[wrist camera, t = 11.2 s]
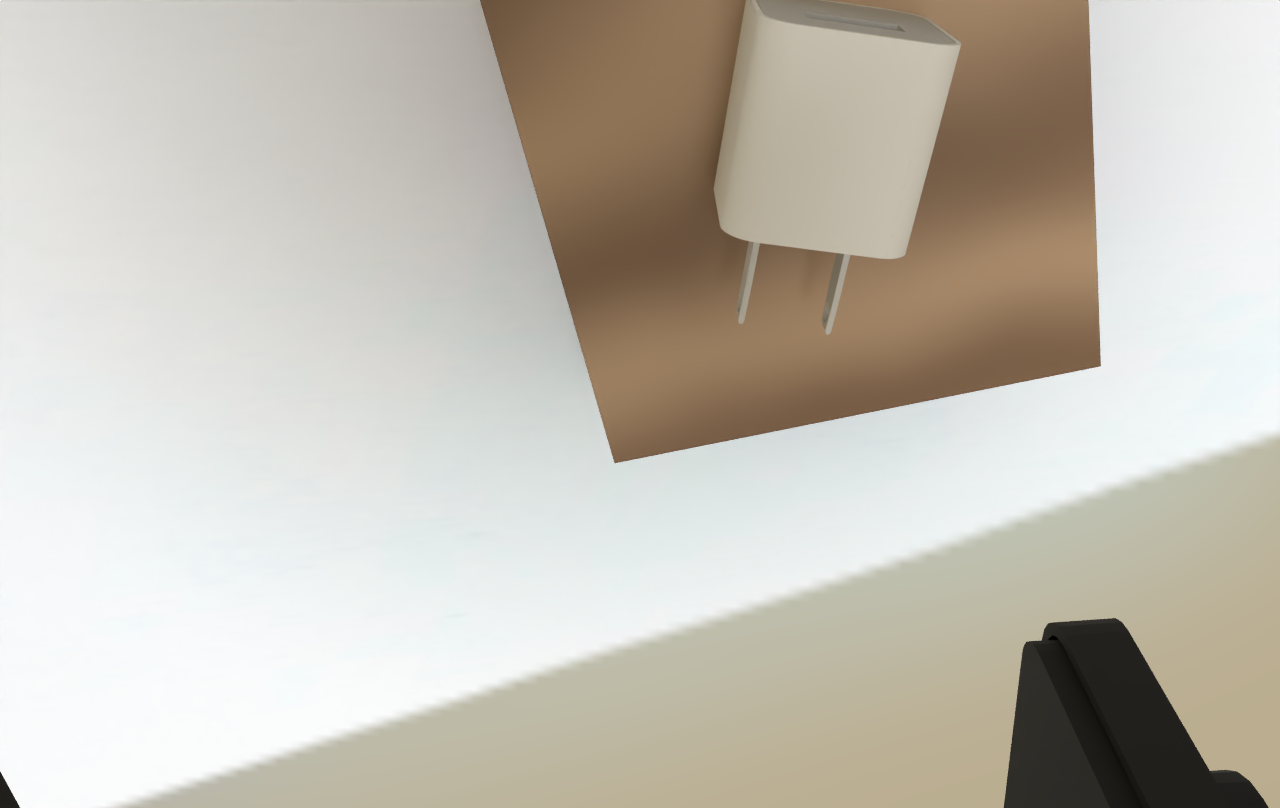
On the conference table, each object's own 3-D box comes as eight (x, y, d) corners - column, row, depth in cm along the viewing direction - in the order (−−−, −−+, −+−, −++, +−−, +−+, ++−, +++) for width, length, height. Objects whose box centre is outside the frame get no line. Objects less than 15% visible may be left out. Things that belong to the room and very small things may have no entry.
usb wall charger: (922, 14, 24) (970, 49, 21) (852, 300, 27) (882, 372, 24) (744, -12, 24) (761, 19, 20) (695, 280, 27) (701, 350, 24)
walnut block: (501, -63, 29) (470, -33, 24) (997, -191, 27) (1082, -189, 22) (618, 363, 35) (614, 463, 30) (1028, 277, 34) (1100, 366, 28)
